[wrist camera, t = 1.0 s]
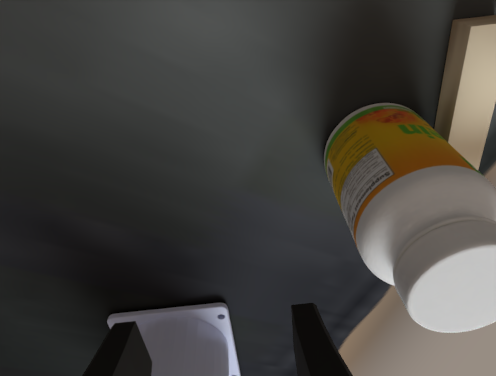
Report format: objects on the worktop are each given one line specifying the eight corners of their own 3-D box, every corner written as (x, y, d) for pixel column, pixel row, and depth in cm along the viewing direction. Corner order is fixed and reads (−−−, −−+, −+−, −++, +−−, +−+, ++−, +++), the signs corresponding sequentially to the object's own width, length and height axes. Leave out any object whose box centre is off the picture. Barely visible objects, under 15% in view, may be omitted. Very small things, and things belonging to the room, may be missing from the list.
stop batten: (443, 242, 24) (455, 259, 23) (413, 245, 24) (424, 262, 23) (494, 14, 17) (516, 21, 16) (452, 19, 17) (471, 26, 16)
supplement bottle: (448, 128, 20) (602, 263, 12) (381, 206, 22) (470, 361, 14) (363, 80, 18) (473, 197, 10) (302, 169, 21) (351, 321, 13)
